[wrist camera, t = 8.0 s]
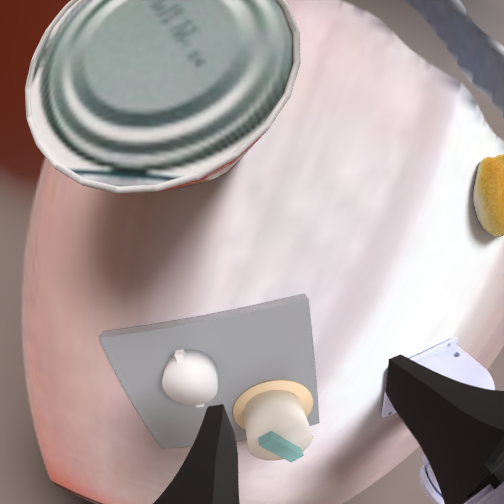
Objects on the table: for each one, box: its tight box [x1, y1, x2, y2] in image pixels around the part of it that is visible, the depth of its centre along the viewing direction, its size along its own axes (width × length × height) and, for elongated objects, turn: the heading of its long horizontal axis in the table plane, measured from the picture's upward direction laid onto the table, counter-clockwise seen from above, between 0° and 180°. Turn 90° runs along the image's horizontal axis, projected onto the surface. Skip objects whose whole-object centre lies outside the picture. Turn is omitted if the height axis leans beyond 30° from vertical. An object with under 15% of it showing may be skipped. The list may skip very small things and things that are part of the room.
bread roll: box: [473, 155, 504, 236], centre depth 19 cm, size 8×9×4 cm
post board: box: [99, 294, 319, 448], centre depth 20 cm, size 16×14×3 cm
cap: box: [244, 390, 313, 462], centre depth 19 cm, size 5×5×5 cm
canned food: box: [25, 0, 300, 194], centre depth 11 cm, size 8×8×12 cm
